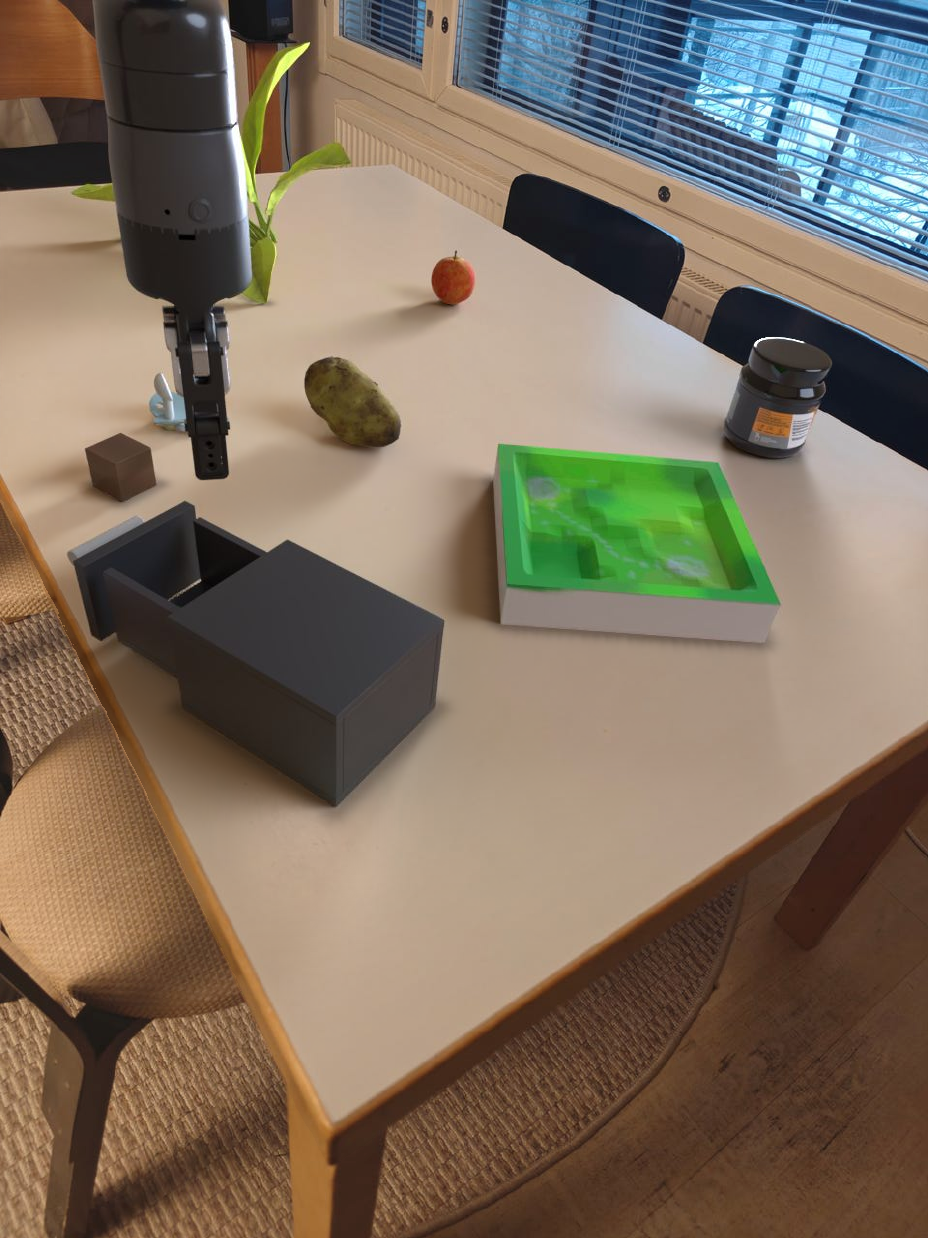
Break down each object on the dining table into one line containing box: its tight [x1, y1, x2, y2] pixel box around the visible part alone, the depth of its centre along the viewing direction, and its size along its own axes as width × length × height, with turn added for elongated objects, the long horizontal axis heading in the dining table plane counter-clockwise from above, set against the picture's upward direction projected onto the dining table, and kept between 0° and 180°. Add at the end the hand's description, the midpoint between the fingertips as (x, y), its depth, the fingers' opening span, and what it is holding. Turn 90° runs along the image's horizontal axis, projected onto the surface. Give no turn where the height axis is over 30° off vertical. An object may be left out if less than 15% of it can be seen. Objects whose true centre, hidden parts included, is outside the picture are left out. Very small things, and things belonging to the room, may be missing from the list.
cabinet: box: [168, 539, 446, 808], centre depth 66 cm, size 16×13×10 cm
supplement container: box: [722, 337, 833, 459], centre depth 108 cm, size 10×10×12 cm
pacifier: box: [148, 372, 188, 433], centre depth 99 cm, size 7×6×6 cm
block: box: [84, 432, 157, 503], centre depth 89 cm, size 4×4×4 cm
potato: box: [303, 355, 402, 448], centre depth 101 cm, size 8×13×8 cm, turn 34°
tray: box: [492, 443, 782, 644], centre depth 88 cm, size 25×25×5 cm
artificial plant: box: [70, 42, 352, 305], centre depth 133 cm, size 42×43×30 cm
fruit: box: [430, 250, 476, 306], centre depth 136 cm, size 7×7×8 cm
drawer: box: [66, 500, 268, 679], centre depth 71 cm, size 19×11×8 cm, turn 57°
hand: (208, 445), depth 61 cm, fingers open, 8 cm apart
